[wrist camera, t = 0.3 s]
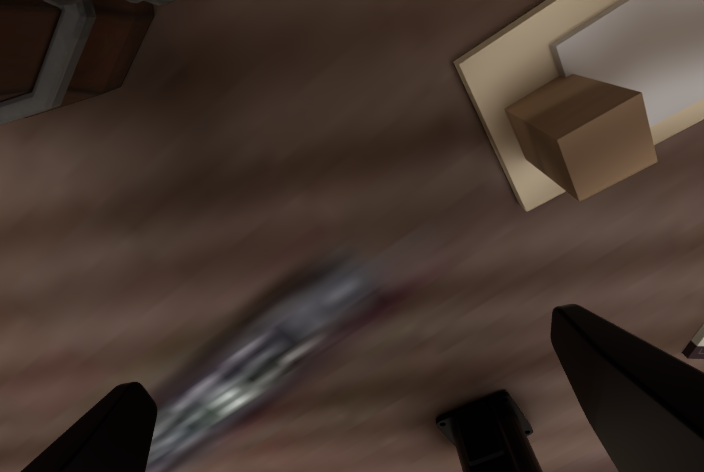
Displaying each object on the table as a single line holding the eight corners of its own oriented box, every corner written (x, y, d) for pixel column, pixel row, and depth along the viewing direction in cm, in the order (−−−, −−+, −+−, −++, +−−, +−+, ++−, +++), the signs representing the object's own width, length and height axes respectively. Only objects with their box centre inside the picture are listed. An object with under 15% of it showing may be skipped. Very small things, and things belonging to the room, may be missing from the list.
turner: (807, 33, 17) (968, 42, 13) (535, 181, 20) (589, 228, 16) (807, -118, 14) (1011, -173, 10) (492, 81, 17) (544, 104, 13)
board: (840, 32, 18) (866, 33, 17) (518, 204, 22) (526, 211, 21) (849, -202, 14) (883, -216, 13) (453, 61, 18) (459, 64, 17)
